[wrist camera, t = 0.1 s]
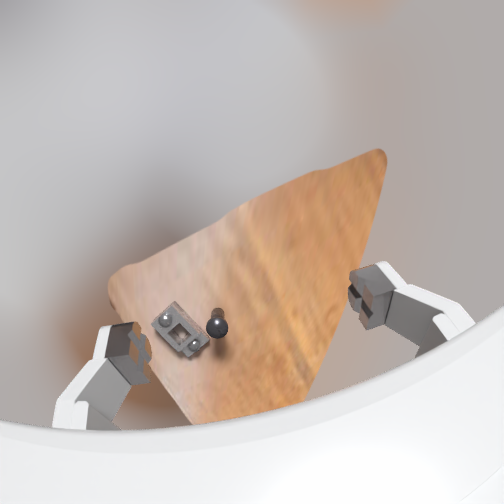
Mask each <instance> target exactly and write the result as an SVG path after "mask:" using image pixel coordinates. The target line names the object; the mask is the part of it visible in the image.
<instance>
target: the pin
mask: <svg viewBox="0 0 504 504" xmlns="http://www.w3.org/2000/svg"><path fill="white" fill-rule="evenodd" d="M206 331H207V333H208V334H209V335H210V336H211V337H213V338H217V339H218V338H222V337H224V336H225V335H226V334H227V332H228V324H227V322H226V320H225V319H224V311H223V310H222V309H221V308H215V309H213V311H212V313H211V319H210V320H209V321H208V322H207V325H206Z"/></svg>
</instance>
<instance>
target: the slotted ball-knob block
mask: <svg viewBox="0 0 504 504" xmlns="http://www.w3.org/2000/svg"><path fill="white" fill-rule="evenodd" d="M179 323H180V324H181V325H182V326H183V327H184V328H185V329H186V330H187V331H188V332H189V334H187V335H186V336H185V337H184V338H183V339H181V338H180V337H179V336H178V335H177V334H176V333H175V332H174V331H173V330H172V329H173V328H174V327H175V326H176V325H177V324H179ZM151 325H152V326H153V327H154V328H155V329H156V331H157V332H158V333H159V334H160V335H161V336H162V337H163V338H164V339H165V340H166V341H167V342H168V343H169V344H170V345H171V346H172V347H173V348H174V349H175V350H176V351H177V352H179V351H180V350H181V351H182V352H183V353H184V354H185V355H186V356H187V357H189V356H191V355H192V354H193V353H194V352H197V351H199V349H200V347H202V346H203V345H204V344H205V343H207V342H208V341H209V338H210V337H209V336H208V335H207V334H206V333H205V332H204V331H203V330H202V329H201V328H200V327H199V326H198V325H197V324H196V323H195V322H194V321H193V320H192V319H191V318H190V317H189V316H188V315H187V314H186V312H185V311H184V310H183V309H182V308H181V307H180V306H179V305H178V304H177V303H176V302H175V301H174V302H173V303H172V304H171V305H170V306H168V307H167V308H166V309H165V310H164V311H163V312H162V313H161V314H160V315H159V316H157V317H156V318H155V319H154V321H153V322H152V323H151Z"/></svg>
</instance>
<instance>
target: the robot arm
mask: <svg viewBox="0 0 504 504" xmlns="http://www.w3.org/2000/svg"><path fill="white" fill-rule="evenodd" d="M349 280H350V281H351V283H352V284H351V285H350V286H349V288H348V298H349V302H350V305H351V307H352V308H353V310H354V311H356V312H358V313H360V314H359V320H360V321H361V323H362V324H363V326H364V328H365V329H366V330H369V329H372V328H375V327H377V326H381V325H384V324H385V325H386V326H387V327H389V328H390V329H392V330H394V331H395V332H397V333H398V334H400V335H402V336H404V337H405V338H407V339H409V340H410V341H412V342H413V343H415V344H416V345H418V346H420V348H419V350H418V352H417V354H416V356H415V358H414V359H413V360H410V361H408V362H406V363H404V364H402V365H399V366H397V367H395V368H393V369H391V370H388V371H386V372H384V373H382V374H379V375H377V376H374V377H372V378H370V379H367V380H365V381H362V382H360V383H357V384H354V385H352V386H349V387H346V388H343V389H341V390H338V391H335V392H332V393H329V394H326V395H323V396H320V397H317V398H314V399H310V400H307V401H304V402H300V403H297V404H293V405H290V406H286V407H282V408H278V409H275V410H270V411H266V412H262V413H258V414H253V415H249V416H244V417H239V418H234V419H228V420H223V421H217V422H211V423H204V424H197V425H189V426H181V427H172V428H159V429H145V430H121V429H120V428H119V427H118V426H116V425H115V424H114V423H112V420H113V418H114V416H115V415H116V413H117V411H118V409H119V407H120V406H121V404H122V402H123V400H124V398H125V397H126V395H127V393H128V392H129V390H130V388H131V385H136V384H144V383H150V381H151V367H150V366H149V365H148V363H149V361H150V360H151V359H152V351H151V345H150V343H149V340H148V338H147V337H146V335H144V334H142V333H141V327H140V325H139V324H138V322H129V323H122V324H116V325H111V326H104V327H101V328H100V330H99V333H98V338H97V342H96V346H95V351H94V355H93V360H89V361H88V363H87V364H86V365H85V366H84V368H83V369H82V370H81V371H80V372H79V373H78V375H77V376H76V377H75V378H74V380H73V381H72V382H71V383H70V384H69V386H68V387H67V388H66V389H65V391H64V392H63V393H62V394H61V396H60V397H59V398H58V399H57V402H56V407H55V413H54V419H53V425H52V427H45V426H37V425H30V424H23V423H18V422H12V421H7V420H2V419H0V504H504V305H502V306H501V307H500V308H498V309H497V310H496V311H494V312H492V313H491V314H490V315H488V316H487V317H485V318H484V319H482V320H481V321H479V322H478V323H475V322H474V321H473V319H472V318H470V316H469V315H468V314H467V312H466V311H465V310H464V309H463V308H462V307H461V305H460V304H459V303H457V302H454V301H452V300H449V299H447V298H444V297H442V296H439V295H437V294H434V293H432V292H429V291H427V290H424V289H422V288H419V287H417V286H414V285H412V284H409V285H407V284H406V283H405V281H404V280H403V279H402V278H401V277H400V276H399V275H398V273H397V272H396V271H395V270H394V269H393V268H392V267H391V266H390V265H389V264H388V262H386V261H382V262H379V263H376V264H373V265H369V266H366V267H363V268H359V269H356V270H352V271H351V272H350V276H349Z"/></svg>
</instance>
